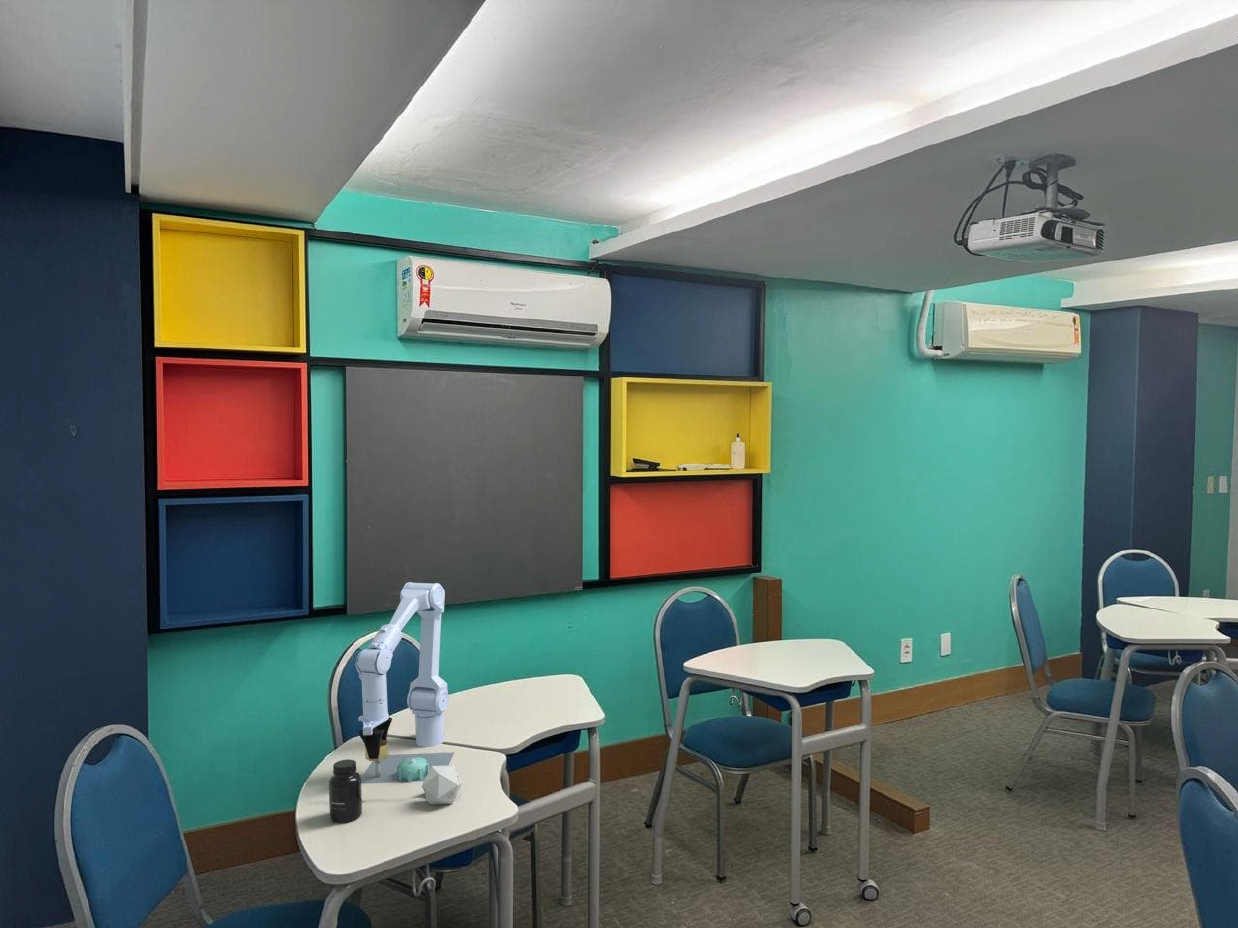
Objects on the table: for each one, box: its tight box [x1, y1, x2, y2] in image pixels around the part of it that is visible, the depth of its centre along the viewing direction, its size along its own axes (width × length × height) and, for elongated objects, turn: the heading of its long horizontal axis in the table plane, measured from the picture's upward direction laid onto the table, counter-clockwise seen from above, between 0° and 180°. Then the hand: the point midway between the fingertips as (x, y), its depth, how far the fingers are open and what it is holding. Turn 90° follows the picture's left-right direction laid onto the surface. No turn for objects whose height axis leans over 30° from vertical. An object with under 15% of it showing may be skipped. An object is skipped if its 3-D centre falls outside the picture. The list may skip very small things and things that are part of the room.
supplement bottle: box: [328, 759, 363, 824], centre depth 183 cm, size 7×7×12 cm
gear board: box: [361, 751, 455, 784], centre depth 207 cm, size 17×20×5 cm
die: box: [421, 764, 463, 806], centre depth 190 cm, size 8×9×10 cm
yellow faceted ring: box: [364, 740, 390, 762], centre depth 202 cm, size 5×5×3 cm
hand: (377, 753), depth 202 cm, fingers closed on yellow faceted ring, 5 cm apart
